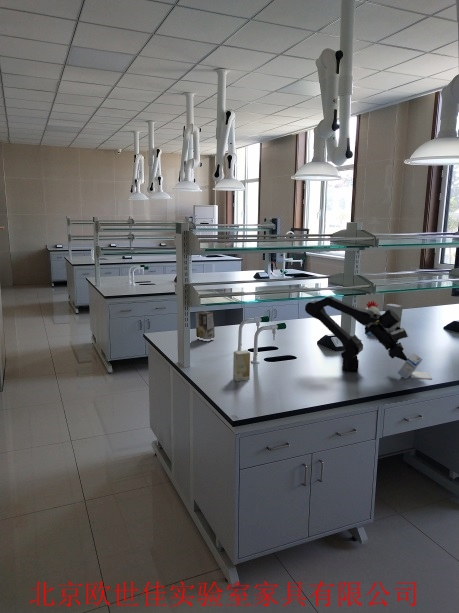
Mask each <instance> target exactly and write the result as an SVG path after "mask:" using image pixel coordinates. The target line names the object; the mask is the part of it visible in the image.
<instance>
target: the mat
mask: <svg viewBox="0 0 459 613" xmlns="http://www.w3.org/2000/svg"><path fill="white" fill-rule="evenodd" d="M410 376H411V378H412V379H422V380H423V379H424V380H433V377H432V376H431V374H430V373H429V371H415V370H414V372H413V373H412V374H411V375H410Z"/></svg>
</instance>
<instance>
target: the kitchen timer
mask: <svg viewBox="0 0 459 613" xmlns="http://www.w3.org/2000/svg"><path fill="white" fill-rule="evenodd" d="M378 305H379V304H377V302H376V301H374V300H371V301H368V302H366V308H365V309H367V310H371V311H373V312H374V313H375V314H379V315H382V314H381V311H380V309H379V308H378Z"/></svg>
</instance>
